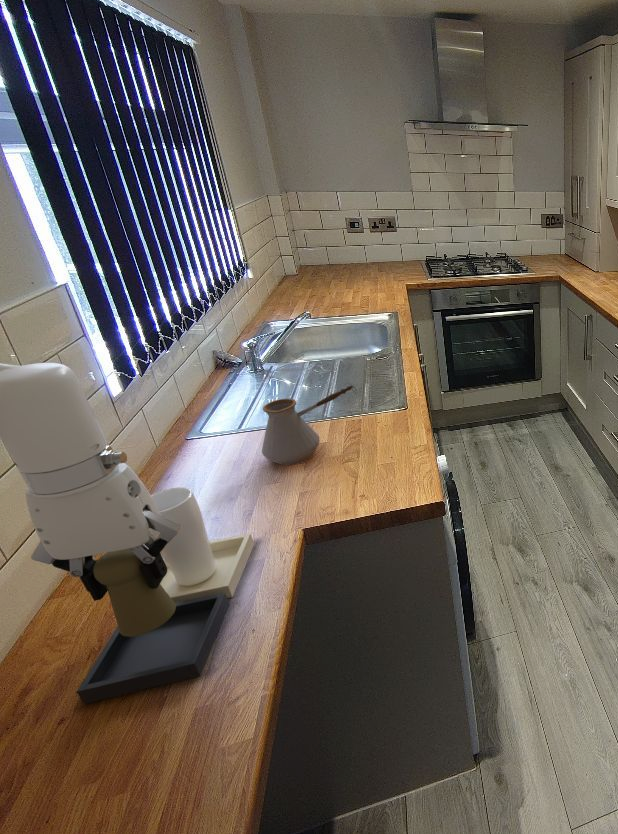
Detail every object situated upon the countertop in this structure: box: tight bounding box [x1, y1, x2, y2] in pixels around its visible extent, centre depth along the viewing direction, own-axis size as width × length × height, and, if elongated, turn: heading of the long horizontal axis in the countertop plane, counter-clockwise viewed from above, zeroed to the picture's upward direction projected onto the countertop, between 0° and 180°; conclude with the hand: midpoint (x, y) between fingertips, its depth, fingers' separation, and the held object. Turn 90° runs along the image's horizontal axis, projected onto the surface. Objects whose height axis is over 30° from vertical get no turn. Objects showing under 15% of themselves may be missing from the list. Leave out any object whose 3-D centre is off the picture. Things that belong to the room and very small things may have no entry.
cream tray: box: [160, 533, 255, 603], centre depth 85 cm, size 13×13×2 cm
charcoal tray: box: [76, 593, 230, 705], centre depth 72 cm, size 13×13×2 cm
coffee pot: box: [261, 385, 358, 465], centre depth 117 cm, size 21×12×15 cm, turn 110°
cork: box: [93, 549, 176, 637], centre depth 68 cm, size 6×6×11 cm
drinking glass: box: [149, 486, 217, 586], centre depth 82 cm, size 7×7×15 cm
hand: (131, 585), depth 68 cm, fingers closed on cork, 5 cm apart
